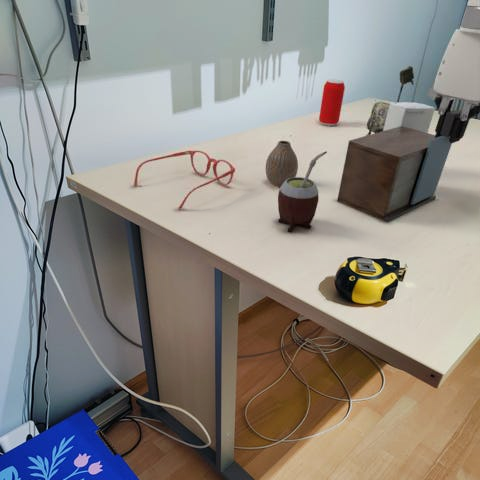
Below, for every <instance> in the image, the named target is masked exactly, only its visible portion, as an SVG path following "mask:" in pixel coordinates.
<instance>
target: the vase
mask: <svg viewBox="0 0 480 480" xmlns="http://www.w3.org/2000/svg"><path fill="white" fill-rule="evenodd" d="M298 171H299V161H298V157H297V155H296V153H295V150H294V149H293V148H292V145H291V141H288V140H279V141H278V142H277V144H276V146H274V148H273V149H272V150H271V151H270V153H269V155H268V156H267V159H266V162H265V176H266V179H267V181H268V182H269V184H271V185H272V186H274V187H278V188H280V187H281V186H282V184H283V183H284V182H285V181H286V180H287V179H289V178H293V177H297V174H298Z"/></svg>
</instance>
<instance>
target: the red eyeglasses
mask: <svg viewBox="0 0 480 480" xmlns="http://www.w3.org/2000/svg"><path fill="white" fill-rule="evenodd" d="M196 153H201V154H203V155H205V157H206V158H207V164H206V170H205V172H204V173H200V172H199V171H198V170H197V169H196V167H195V164H194V156H195V154H196ZM187 155H190V162H191V167H192V169H193V171H194V172H195V173H196V174H197V175H199V176H206V175H207V174H208V173H209V171H210V169H211V165H212V171H213V175H214V177H215V178H213V179H211V180H209V181H206V182H204V183H202V184H199V185H197V186H196V187H194V188H193V189H191V190H190V191H188V193H187V194H186V196H185V197H184V198H183V200H182V201H181V204H180V205H179V207H178V210H181V209H182V208H183V207H184V205H185V203H186V201H187V199H188V198H189V196H190V195H192V193H193V192H194V191H196V190H197V189H200V188H202V187H205V186H207V185H209V184H212V183H214V182H218V183H219V184H220V185H222V186H228V185H229V184H231V182H232V180H233V177H234V173H235V172H236V168H235V167H234V166H233V165H232V164H231V163H230V162H229V161H227V160H225V159H218V160H216V159H215V158H211V157H210V156H209V155H208V153H206V152H205V151H202V150H185V151H180V152H175V153H173V154H168V155H164V156H159V157H155V158H151V159H147V160H145V161H143V162H141V163H140V164H139V165H138V167H137V168H136V170H135V175H134V181H133V186H134V187H137V186H138V175H139V172H140V169H141V167H142V166H143V165H145V164H147V163H150V162H153V161H158V160H163V159H169V158H173V157H180V156H187ZM220 162H223V163H226V164H227V165H228V167H229V168H230V170H228V171H226V172H224V173H222V174H221V175H219V176H218V173H217V168H218V167H217V166H218V164H219V163H220ZM212 163H213V164H212ZM229 175H230V176H229ZM228 176H229V177H230V178H229V180H228V182H227V183H222V182H221V180H220V179H223V178H226V177H228Z"/></svg>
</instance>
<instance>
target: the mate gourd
mask: <svg viewBox="0 0 480 480" xmlns="http://www.w3.org/2000/svg"><path fill="white" fill-rule="evenodd" d="M327 153H328V151H327V150H325V151H323V152H321V153H319V154H317V155H316V156H315V157H313V158H312V159H311V161H310V163H309V167H308V168H307V172H306V174H305V177H300V176H296V177H293V178H289V179H287V180H286V181H285V182H284V183H283V184H282V186H281V187H279V191H278V194H277V209H278V215H279V218H278V219H277V222H278V223H279V224H284V225H287V226H288V225H289V227H288V228H287V232H288V233H293V232H294V230H295V228H301V229H306V230H311V229H312V225H311V224H312V222H313V220H314V217H315V215H316V213H317V212H316V211H317V208H318V204H319V190H318V187H317V184H316V183H315V182H314V181H313V180H312V179H309V177H310V175H311V173H312V170H313V168H314V167H315V165H316V164H317V161H318V160H319V159H320V158H322V157H323V156H325V155H326V154H327Z"/></svg>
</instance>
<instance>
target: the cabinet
mask: <svg viewBox="0 0 480 480" xmlns="http://www.w3.org/2000/svg"><path fill="white" fill-rule="evenodd" d="M366 135H367V134H366ZM366 135H364V136H361V137H358V138H354V139H350V140H348V143H347V147H346V148H347V149H346V153H345V159H344V164H343V169H342V174H341V178H340V179H341V180H340V184H339V190H338V194H337V198H336V201H337V202H338V203H340V204H343V205H345V206H347V207H350V208H352V209H354V210H356V211H359V212H361V213H364V214H366V215H368V216H370V217H372V218H375V219H377V220H380V221H382V222H385V223H386V224H388V223H389V222H392V221H394V220H396V219H398V218H400V217H402V216H404V215H407V214H409V213H410V212H412V211H414V210H416V209H418V208H421V207H422V206H424V205H427V204H429V203H431V202H434V201H435V200H436V198H437V195H435V194H434V195H432V196H430V197H428V198H426V199H424V200H421V201H419V202H417V203H415V204H413V205H412V204H410V203H411V200H412V197H413V194H414V191H415V188H416V184H417V181H418V178H419V175H420V172H421V169H422V165H423V162H424V159H425V156H426V153H427V150H428V146H429V143H430V140H431V139H434V138H435V135H436V134H432V133H429V132H428V133H425V132H421V131H418V130H414V129H411V128H407V127H403V126H400V127H396V128H392V129H389V130H385V131H382V132H378V133H371V134H370V135H367V136H366Z"/></svg>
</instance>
